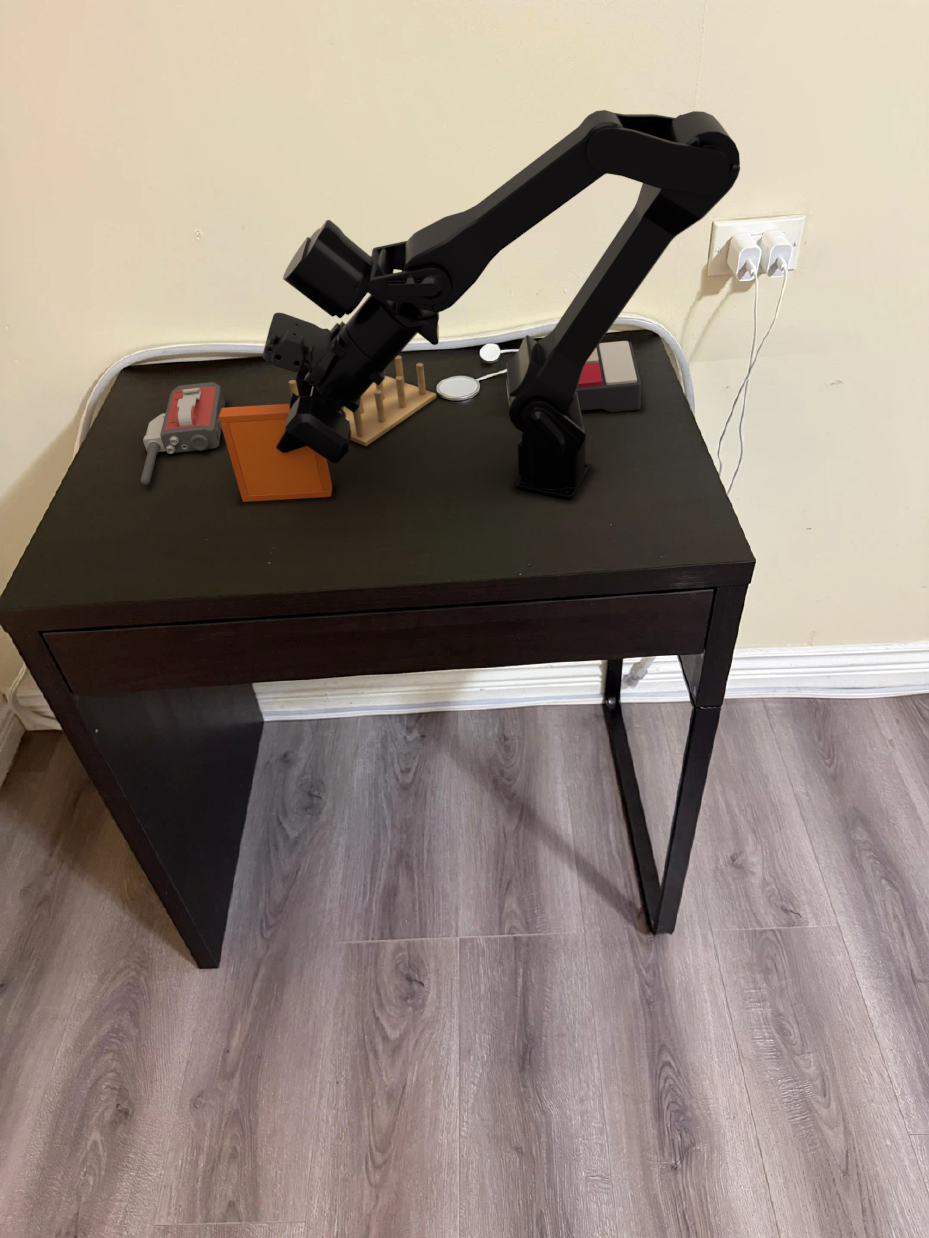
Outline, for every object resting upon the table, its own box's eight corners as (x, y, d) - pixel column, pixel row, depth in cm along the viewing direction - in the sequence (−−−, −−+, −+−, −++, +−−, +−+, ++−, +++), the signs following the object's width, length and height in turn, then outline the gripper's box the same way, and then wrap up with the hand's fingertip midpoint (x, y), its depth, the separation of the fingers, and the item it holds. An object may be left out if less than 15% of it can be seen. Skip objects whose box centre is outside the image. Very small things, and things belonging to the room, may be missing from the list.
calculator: (513, 346, 116) (631, 335, 115) (516, 376, 119) (630, 366, 118) (515, 389, 108) (641, 378, 107) (518, 421, 111) (641, 410, 110)
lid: (332, 487, 102) (315, 401, 95) (331, 497, 101) (313, 410, 93) (245, 492, 103) (221, 407, 95) (242, 502, 101) (218, 416, 94)
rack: (436, 397, 115) (433, 364, 112) (366, 446, 108) (360, 413, 105) (357, 369, 122) (352, 337, 119) (285, 413, 115) (278, 381, 112)
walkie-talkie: (161, 405, 118) (138, 494, 104) (151, 374, 115) (126, 461, 101) (228, 397, 119) (215, 485, 104) (220, 367, 116) (205, 452, 101)
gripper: (312, 252, 92) (231, 358, 100) (289, 336, 79) (197, 451, 87) (397, 320, 97) (314, 415, 105) (389, 410, 84) (294, 512, 92)
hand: (281, 444), depth 97 cm, fingers closed on lid, 2 cm apart
